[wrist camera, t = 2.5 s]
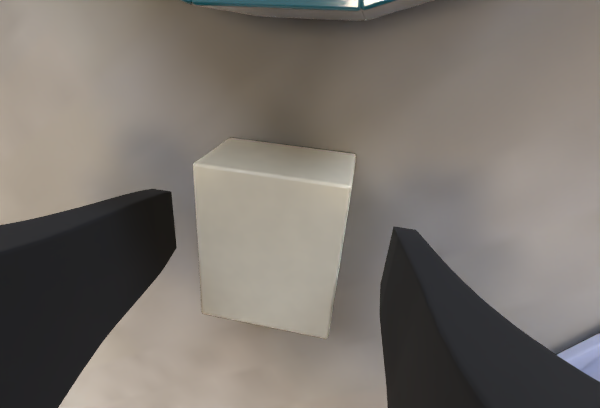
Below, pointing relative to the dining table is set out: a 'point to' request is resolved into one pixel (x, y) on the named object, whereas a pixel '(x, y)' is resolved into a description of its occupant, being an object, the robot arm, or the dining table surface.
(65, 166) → the dining table surface
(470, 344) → the robot arm
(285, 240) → the block
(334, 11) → the pan
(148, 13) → the dining table surface
